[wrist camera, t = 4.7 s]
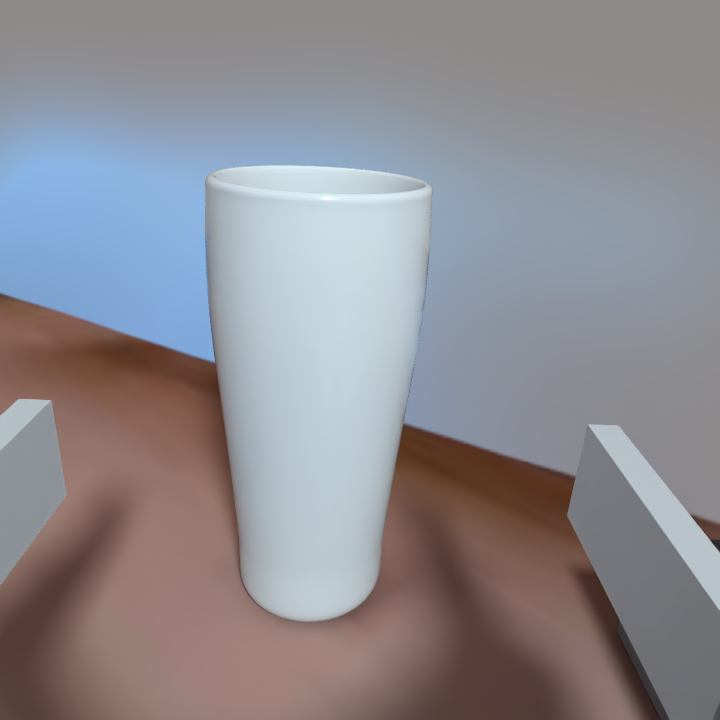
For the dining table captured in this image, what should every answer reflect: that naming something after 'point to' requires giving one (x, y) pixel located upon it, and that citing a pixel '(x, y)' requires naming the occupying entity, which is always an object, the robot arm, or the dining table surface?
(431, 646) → the dining table surface
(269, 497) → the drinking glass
